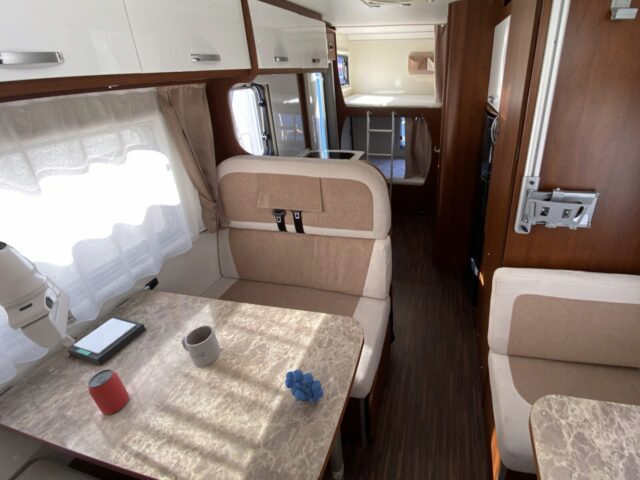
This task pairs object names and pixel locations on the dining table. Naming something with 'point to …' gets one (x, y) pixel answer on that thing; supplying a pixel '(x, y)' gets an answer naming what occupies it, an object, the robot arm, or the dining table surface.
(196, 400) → the dining table surface
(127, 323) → the scale
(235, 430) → the dining table surface
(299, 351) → the dining table surface
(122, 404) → the beer can
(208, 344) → the mug
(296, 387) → the grapes
